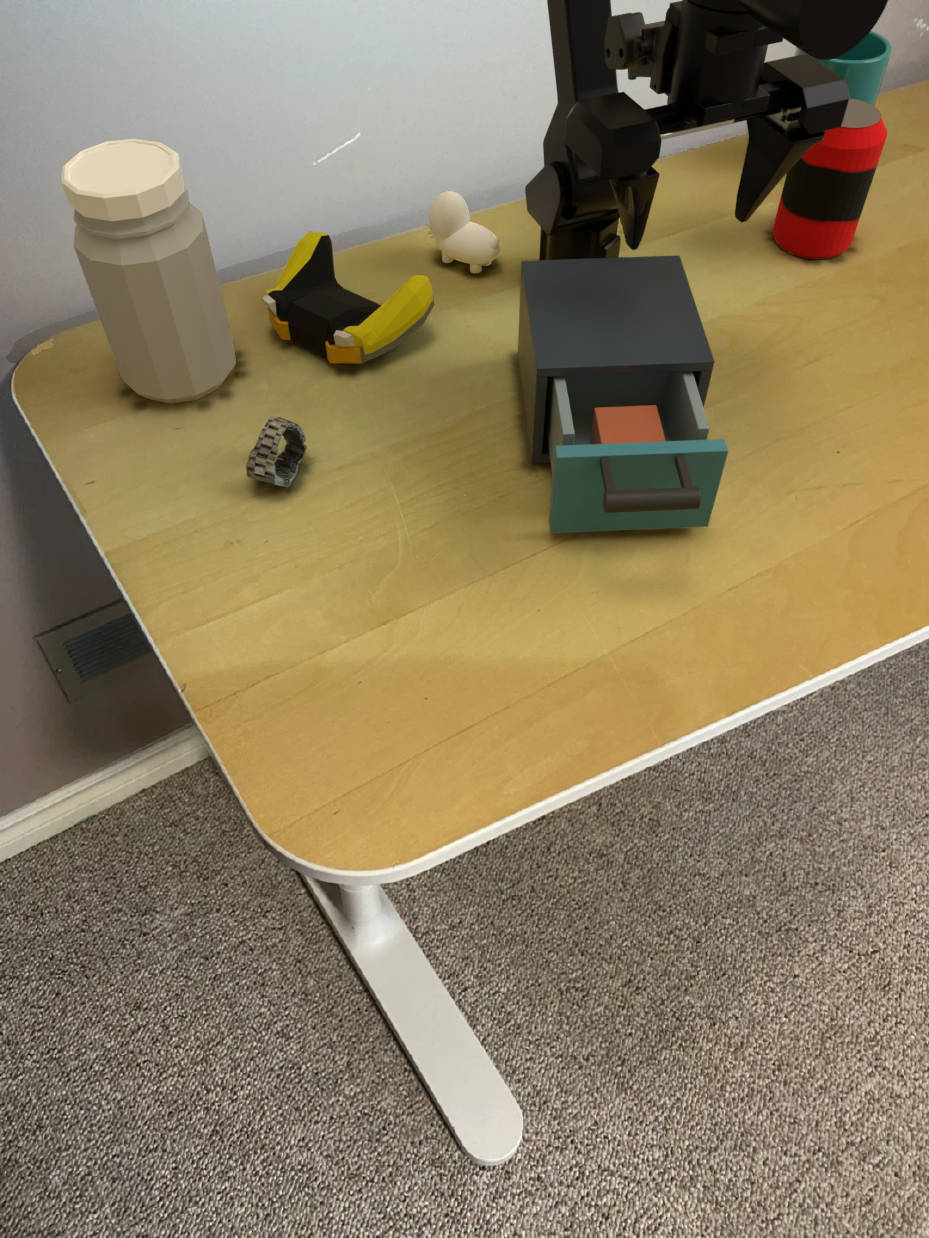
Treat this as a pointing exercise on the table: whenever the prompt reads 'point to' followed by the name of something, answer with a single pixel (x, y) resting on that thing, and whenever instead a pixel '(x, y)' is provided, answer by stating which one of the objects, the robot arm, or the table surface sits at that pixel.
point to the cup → (862, 66)
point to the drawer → (630, 456)
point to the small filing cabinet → (604, 327)
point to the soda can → (831, 186)
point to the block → (626, 425)
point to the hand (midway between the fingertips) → (686, 233)
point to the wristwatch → (266, 450)
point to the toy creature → (461, 233)
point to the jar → (149, 269)
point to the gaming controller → (341, 308)
